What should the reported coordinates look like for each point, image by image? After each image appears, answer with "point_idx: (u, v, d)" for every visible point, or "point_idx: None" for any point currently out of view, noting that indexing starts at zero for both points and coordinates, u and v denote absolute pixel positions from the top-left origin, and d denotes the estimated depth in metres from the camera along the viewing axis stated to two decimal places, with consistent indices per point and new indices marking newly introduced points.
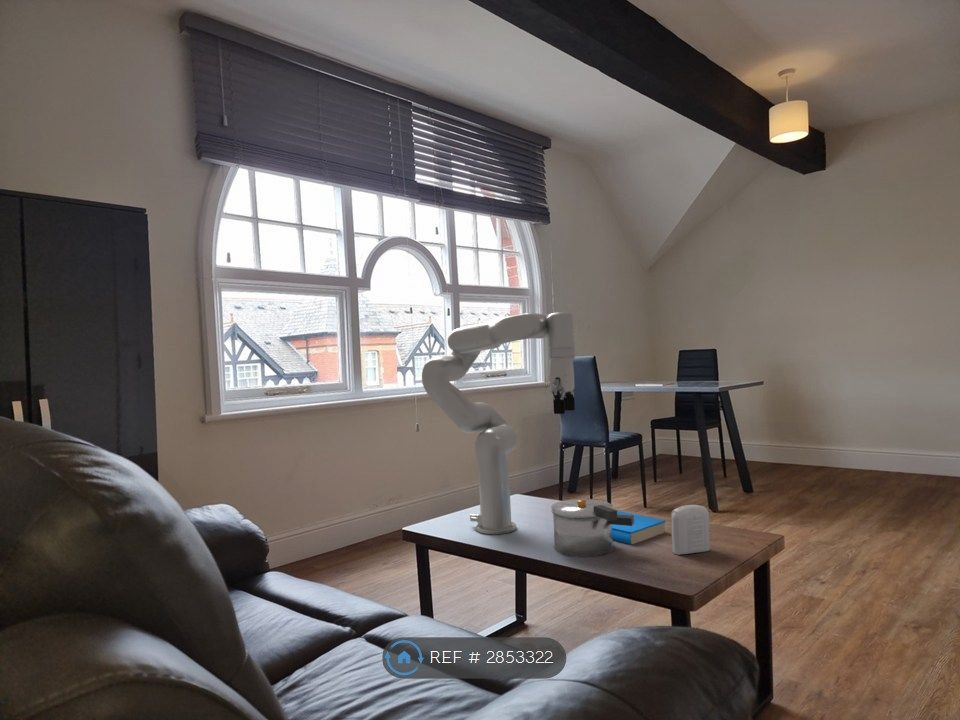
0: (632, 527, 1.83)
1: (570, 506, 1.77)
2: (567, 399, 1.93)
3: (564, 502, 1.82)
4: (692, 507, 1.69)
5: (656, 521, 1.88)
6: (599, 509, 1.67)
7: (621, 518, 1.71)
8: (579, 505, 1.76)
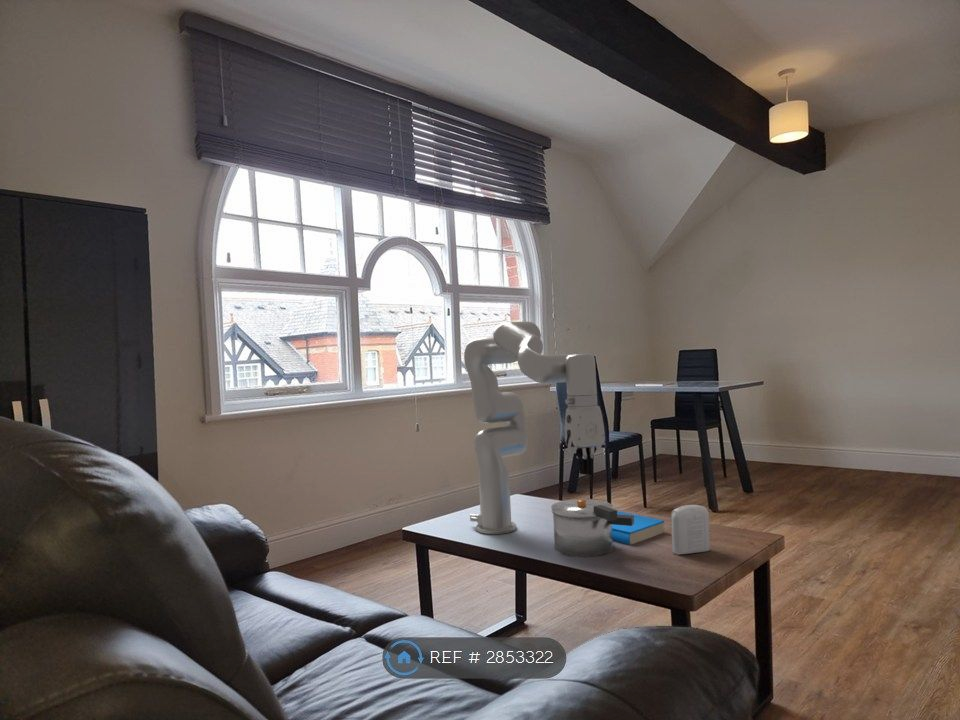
0: (631, 527, 1.82)
1: (570, 506, 1.77)
2: None
3: (564, 502, 1.82)
4: (692, 507, 1.69)
5: (655, 521, 1.88)
6: (599, 509, 1.67)
7: (621, 518, 1.71)
8: (579, 505, 1.76)
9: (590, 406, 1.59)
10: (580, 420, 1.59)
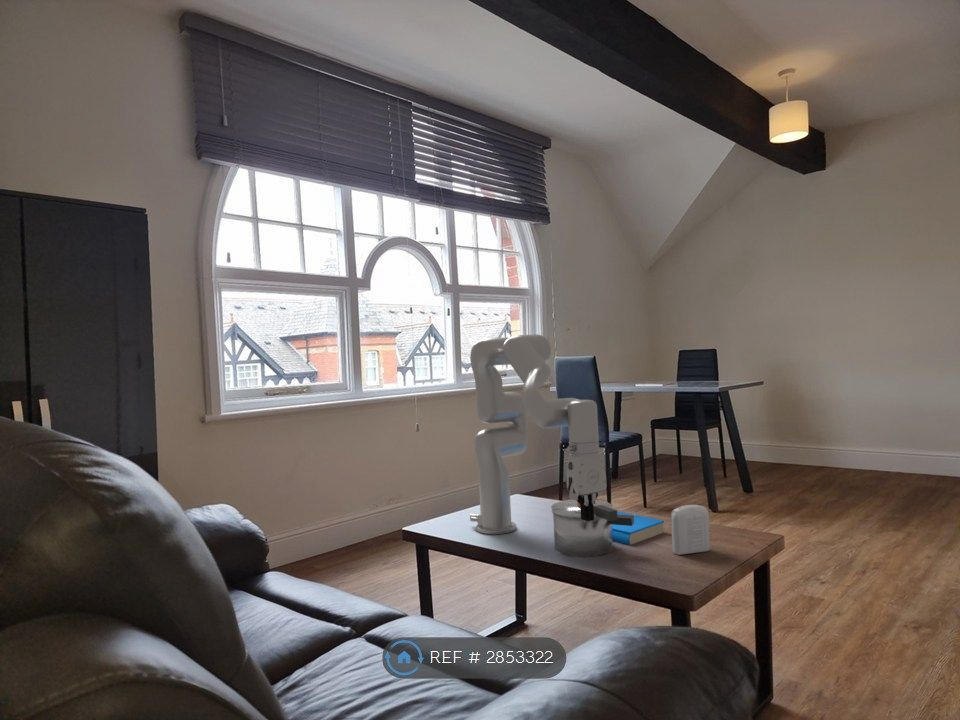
0: (631, 527, 1.82)
1: (570, 506, 1.77)
2: None
3: (564, 502, 1.82)
4: (692, 507, 1.69)
5: (655, 521, 1.88)
6: (599, 509, 1.67)
7: (621, 518, 1.71)
8: (579, 505, 1.76)
9: (592, 453, 1.60)
10: (582, 467, 1.59)
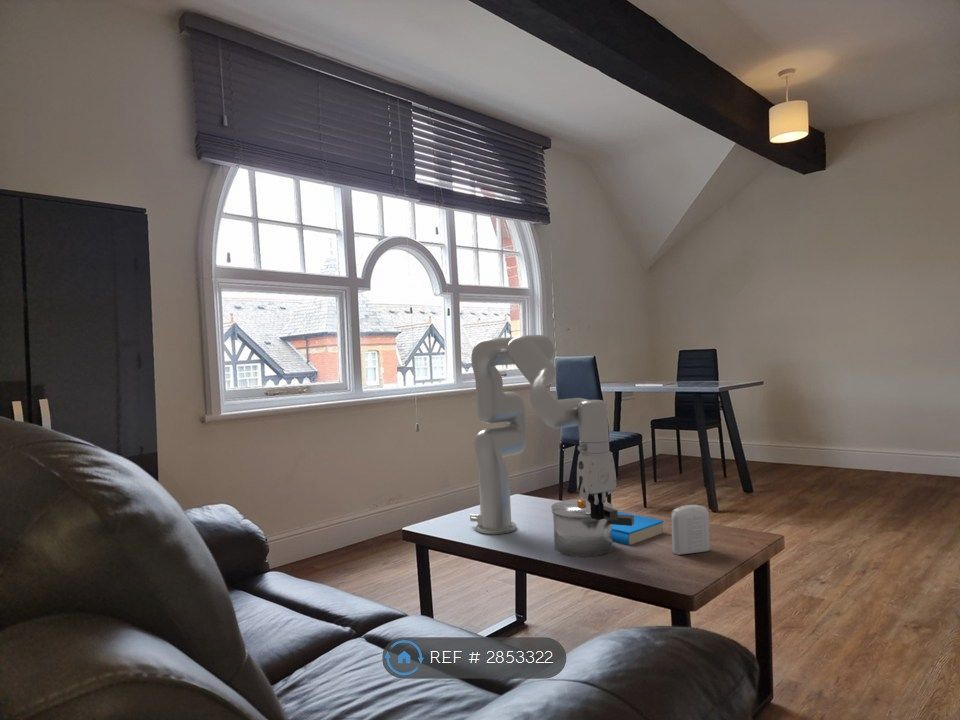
0: (630, 527, 1.82)
1: (570, 506, 1.77)
2: None
3: (564, 502, 1.82)
4: (692, 507, 1.69)
5: (654, 521, 1.87)
6: None
7: (621, 518, 1.71)
8: (579, 505, 1.76)
9: (602, 453, 1.62)
10: (592, 466, 1.61)
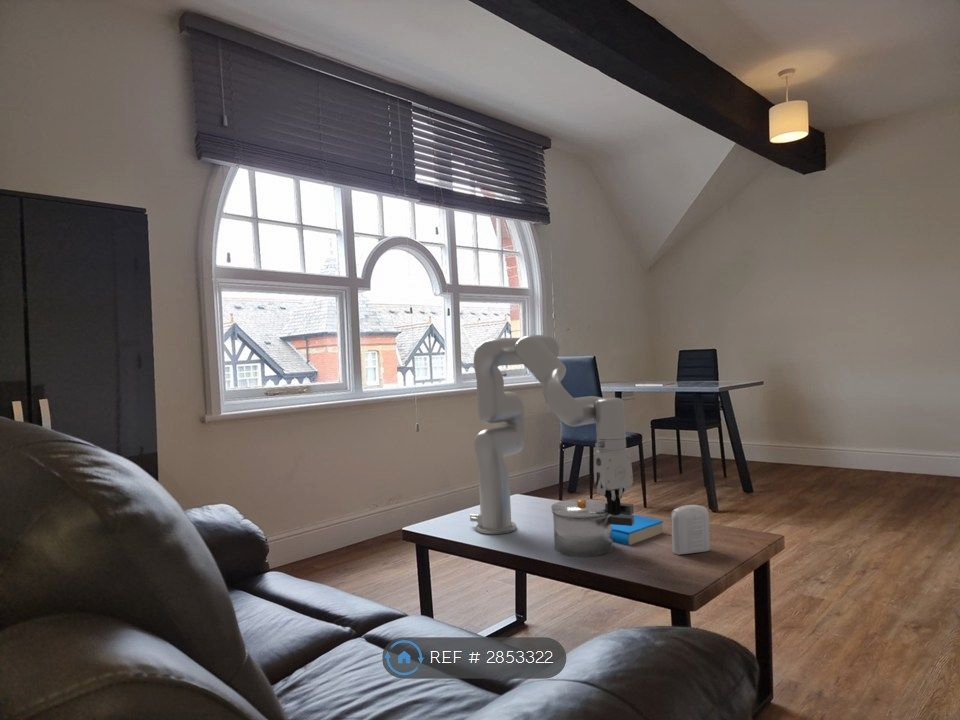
0: (630, 527, 1.82)
1: (572, 507, 1.76)
2: None
3: (558, 505, 1.80)
4: (692, 507, 1.69)
5: (654, 521, 1.87)
6: None
7: (621, 518, 1.71)
8: (581, 505, 1.76)
9: (619, 450, 1.65)
10: (610, 463, 1.64)
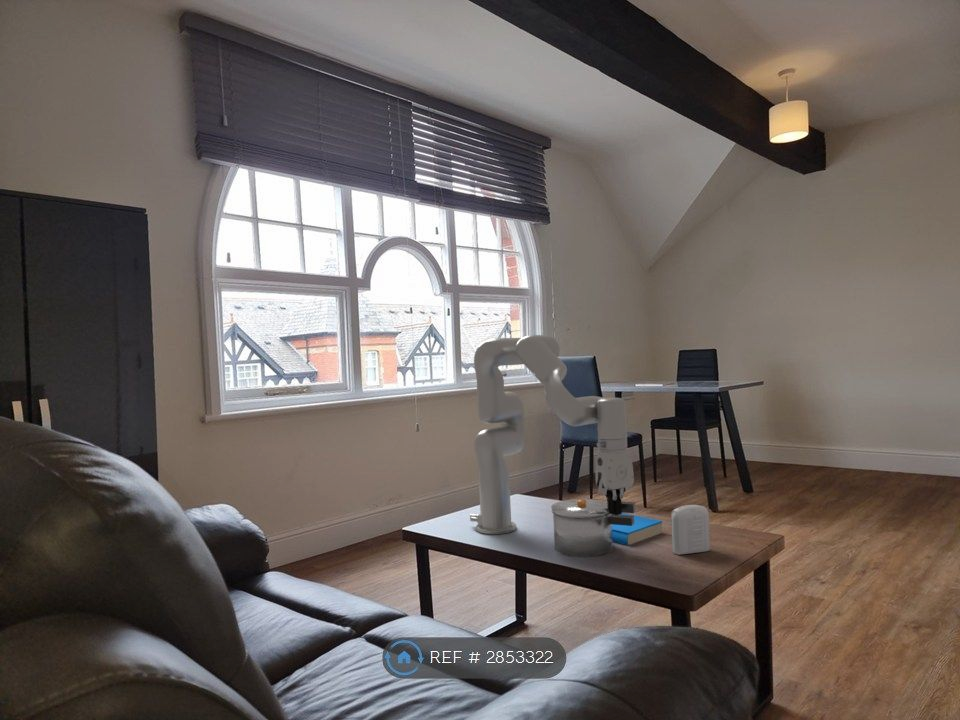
0: (629, 528, 1.82)
1: (573, 508, 1.75)
2: None
3: (557, 506, 1.78)
4: (692, 507, 1.69)
5: (653, 521, 1.87)
6: None
7: (621, 518, 1.71)
8: (582, 505, 1.76)
9: (621, 450, 1.65)
10: (611, 463, 1.65)
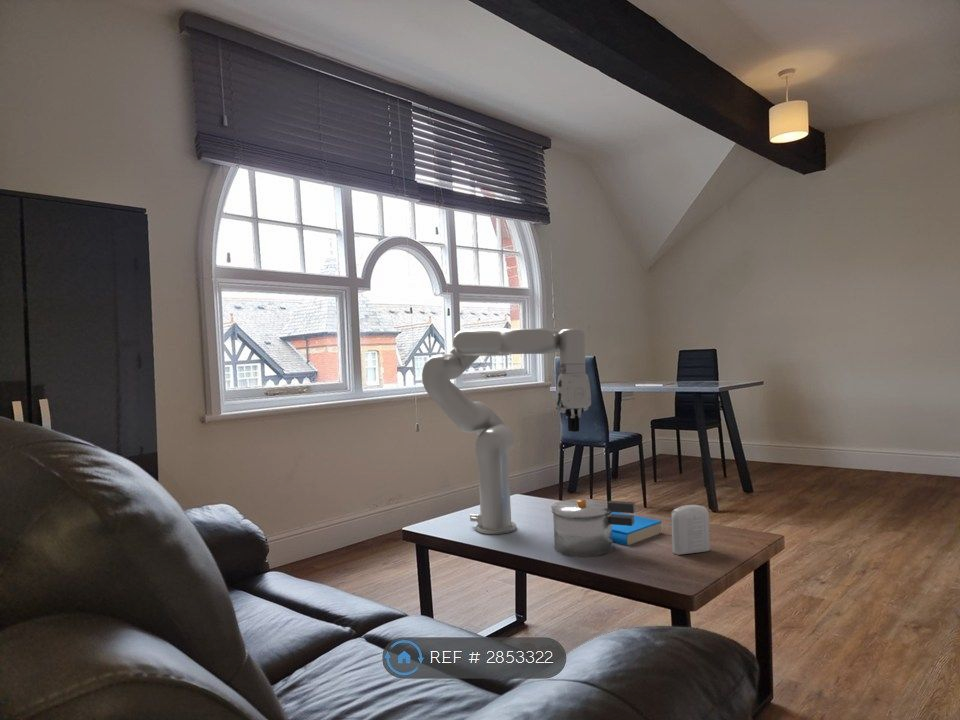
0: (628, 528, 1.82)
1: (573, 508, 1.75)
2: None
3: (557, 506, 1.78)
4: (692, 507, 1.69)
5: (652, 522, 1.87)
6: (617, 504, 1.72)
7: (621, 518, 1.71)
8: (582, 505, 1.76)
9: (578, 373, 1.88)
10: (569, 384, 1.87)
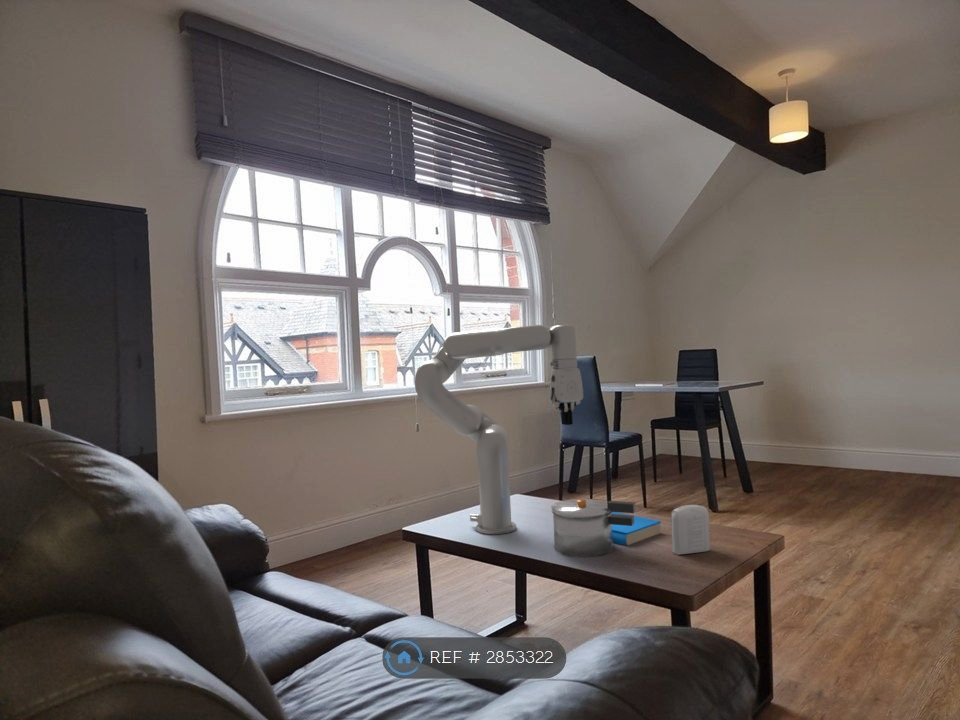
0: (628, 528, 1.82)
1: (573, 508, 1.75)
2: None
3: (557, 506, 1.78)
4: (692, 507, 1.69)
5: (651, 522, 1.87)
6: (617, 504, 1.72)
7: (621, 518, 1.71)
8: (582, 505, 1.76)
9: (571, 368, 1.93)
10: (562, 379, 1.93)
